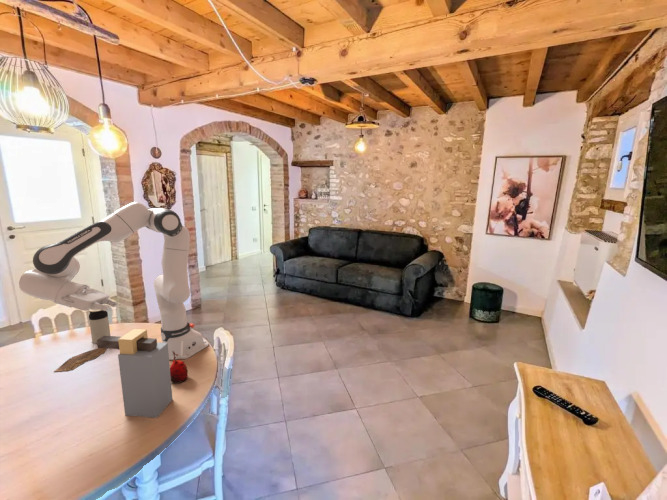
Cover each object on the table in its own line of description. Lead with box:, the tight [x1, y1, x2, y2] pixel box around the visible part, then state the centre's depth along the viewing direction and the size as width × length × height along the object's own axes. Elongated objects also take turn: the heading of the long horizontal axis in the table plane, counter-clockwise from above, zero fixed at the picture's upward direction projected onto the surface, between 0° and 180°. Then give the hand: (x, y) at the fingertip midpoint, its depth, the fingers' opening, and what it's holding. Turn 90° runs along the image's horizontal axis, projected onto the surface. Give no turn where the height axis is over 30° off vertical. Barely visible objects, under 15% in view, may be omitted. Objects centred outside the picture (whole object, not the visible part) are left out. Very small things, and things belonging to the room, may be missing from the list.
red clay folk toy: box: [170, 351, 189, 384], centre depth 137 cm, size 8×7×15 cm
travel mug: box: [88, 309, 111, 344], centre depth 168 cm, size 8×8×18 cm
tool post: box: [117, 328, 173, 419], centre depth 118 cm, size 12×10×30 cm
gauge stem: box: [96, 335, 158, 351], centre depth 116 cm, size 20×4×3 cm, turn 86°
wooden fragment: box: [53, 347, 108, 373], centre depth 153 cm, size 26×11×1 cm, turn 162°
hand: (112, 306), depth 124 cm, fingers open, 8 cm apart
